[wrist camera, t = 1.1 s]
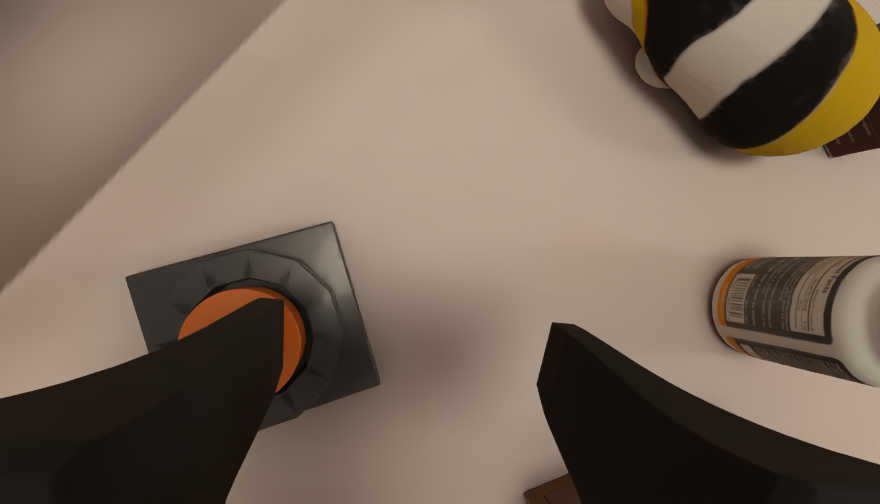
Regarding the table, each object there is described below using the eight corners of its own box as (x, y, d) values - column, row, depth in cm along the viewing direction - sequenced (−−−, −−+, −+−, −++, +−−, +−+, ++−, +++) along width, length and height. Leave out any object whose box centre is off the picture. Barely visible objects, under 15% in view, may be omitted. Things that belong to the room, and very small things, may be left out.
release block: (189, 443, 20) (161, 474, 17) (137, 275, 20) (99, 278, 17) (379, 378, 22) (383, 396, 19) (333, 223, 22) (330, 217, 19)
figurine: (620, -65, 25) (714, -215, 17) (833, 75, 26) (1018, -9, 18) (547, 53, 25) (607, -46, 17) (763, 193, 26) (922, 161, 18)
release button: (211, 407, 18) (196, 422, 16) (179, 304, 18) (160, 309, 16) (318, 371, 19) (314, 383, 17) (289, 273, 19) (282, 274, 17)
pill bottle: (804, 316, 27) (1063, 348, 17) (737, 374, 26) (972, 444, 16) (757, 238, 26) (996, 225, 16) (688, 295, 25) (898, 316, 15)
